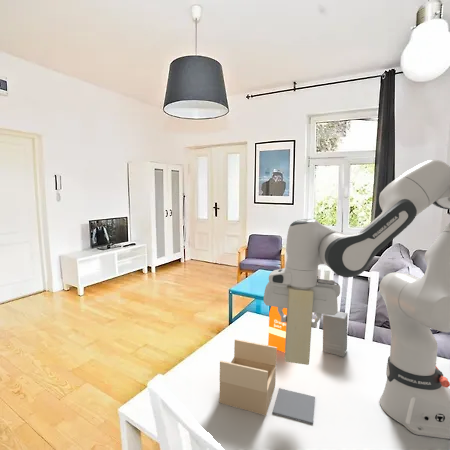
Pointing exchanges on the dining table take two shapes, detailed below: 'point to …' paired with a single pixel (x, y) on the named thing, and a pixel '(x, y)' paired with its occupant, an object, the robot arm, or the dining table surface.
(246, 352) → the carton
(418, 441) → the dining table surface
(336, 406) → the dining table surface
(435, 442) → the dining table surface
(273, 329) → the orange juice
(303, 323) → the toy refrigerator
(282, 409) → the mat
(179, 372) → the dining table surface
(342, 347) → the skincare box
